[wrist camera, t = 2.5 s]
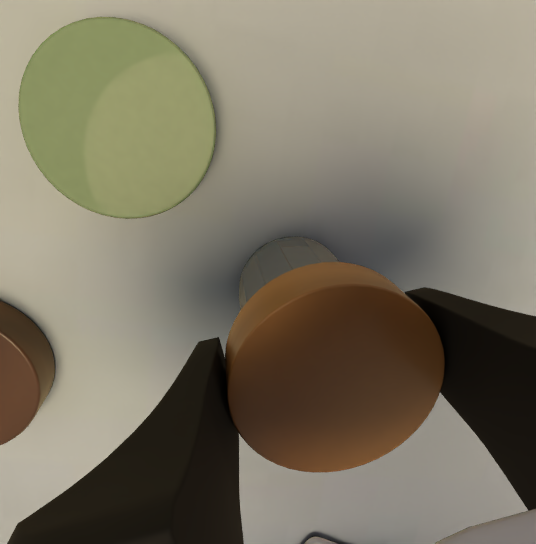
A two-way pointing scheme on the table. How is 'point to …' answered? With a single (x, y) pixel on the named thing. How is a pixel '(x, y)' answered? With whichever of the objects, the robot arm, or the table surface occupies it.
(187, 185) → the green chip
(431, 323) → the copper chip
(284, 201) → the table surface
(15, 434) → the walnut chip
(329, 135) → the table surface
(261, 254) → the blue-grey cup
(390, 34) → the table surface
